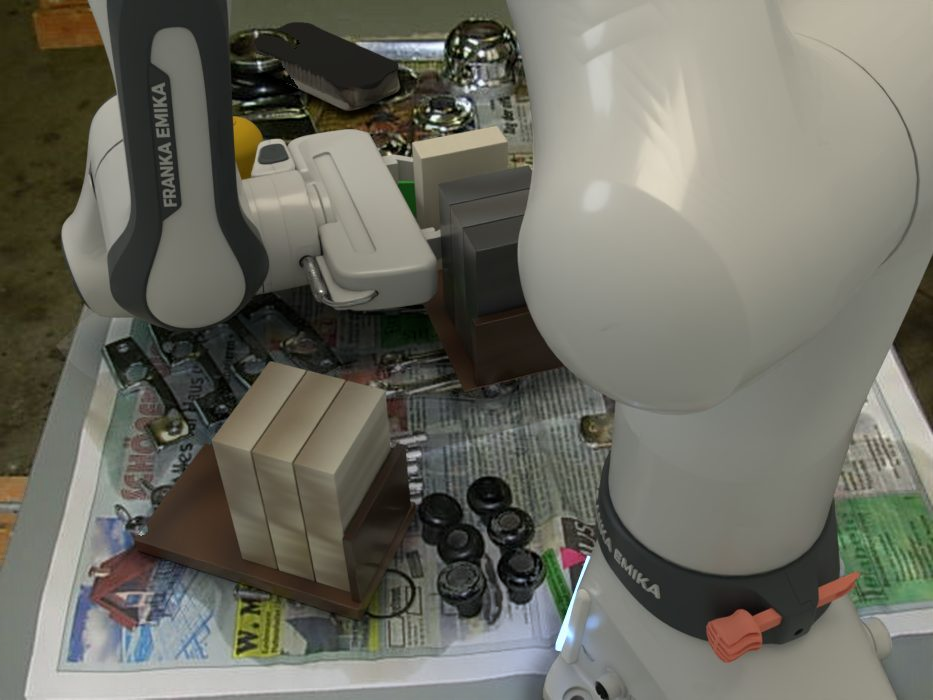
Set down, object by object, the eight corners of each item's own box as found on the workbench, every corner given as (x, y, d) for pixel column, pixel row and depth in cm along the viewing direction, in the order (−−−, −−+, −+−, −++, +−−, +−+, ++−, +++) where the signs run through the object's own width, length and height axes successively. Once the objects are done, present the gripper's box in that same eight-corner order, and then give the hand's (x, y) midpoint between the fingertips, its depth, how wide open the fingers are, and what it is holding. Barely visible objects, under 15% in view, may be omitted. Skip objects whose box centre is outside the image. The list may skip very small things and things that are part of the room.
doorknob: (238, 160, 107) (302, 185, 103) (179, 201, 102) (244, 228, 98) (224, 91, 102) (291, 114, 98) (161, 130, 97) (230, 156, 93)
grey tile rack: (590, 371, 84) (600, 234, 75) (464, 403, 82) (459, 265, 73) (509, 237, 97) (509, 107, 88) (398, 261, 94) (387, 130, 86)
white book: (508, 255, 93) (508, 141, 85) (427, 273, 91) (420, 158, 84) (497, 238, 94) (497, 125, 87) (419, 255, 93) (411, 142, 86)
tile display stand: (416, 513, 74) (405, 381, 66) (360, 621, 68) (340, 491, 60) (207, 454, 78) (172, 323, 70) (136, 551, 72) (89, 420, 64)
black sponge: (248, 73, 119) (242, 42, 117) (306, 44, 124) (302, 13, 121) (353, 125, 111) (349, 92, 109) (412, 92, 116) (410, 60, 113)
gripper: (315, 277, 76) (503, 237, 80) (257, 130, 91) (418, 101, 94) (323, 345, 80) (502, 305, 84) (266, 194, 95) (421, 165, 98)
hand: (457, 196), depth 89 cm, fingers open, 7 cm apart
